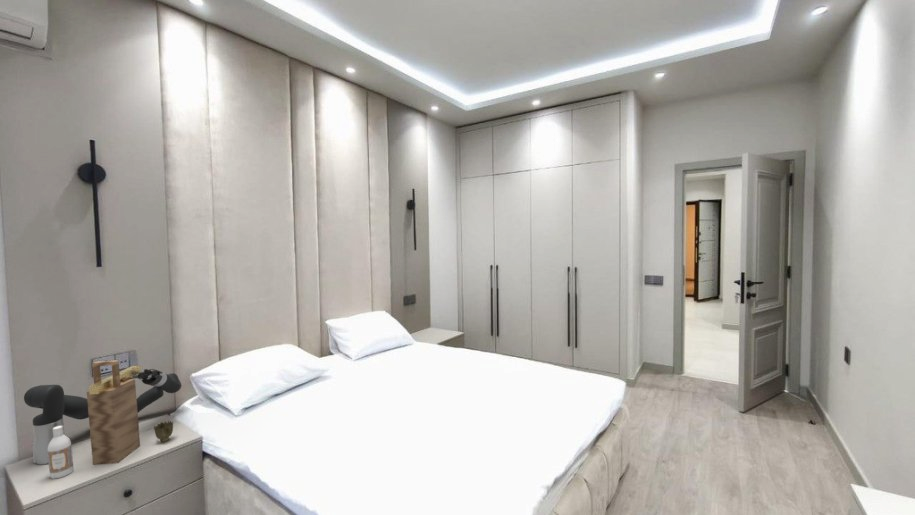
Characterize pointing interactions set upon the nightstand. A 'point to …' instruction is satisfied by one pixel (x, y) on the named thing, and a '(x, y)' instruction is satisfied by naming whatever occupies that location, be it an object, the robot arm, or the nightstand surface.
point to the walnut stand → (113, 417)
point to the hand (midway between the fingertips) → (134, 372)
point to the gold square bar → (108, 381)
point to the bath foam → (60, 454)
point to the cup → (164, 430)
